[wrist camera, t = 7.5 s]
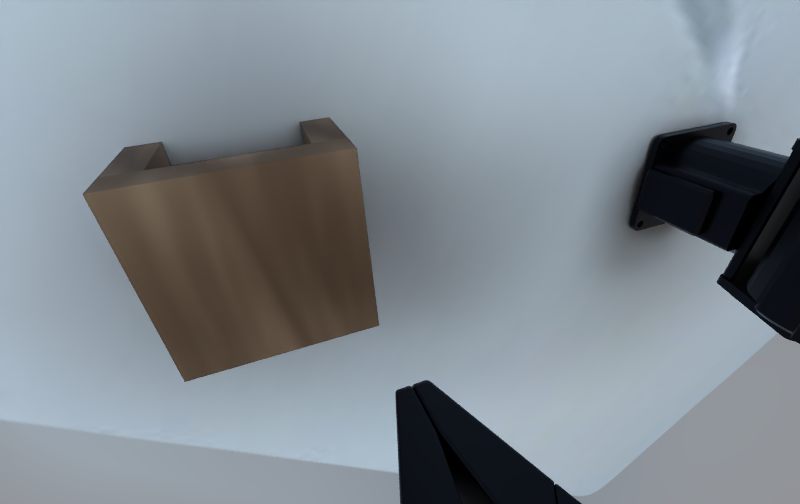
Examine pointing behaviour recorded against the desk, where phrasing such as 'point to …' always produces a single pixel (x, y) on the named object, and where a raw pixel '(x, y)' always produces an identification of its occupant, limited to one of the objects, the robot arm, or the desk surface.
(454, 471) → the robot arm
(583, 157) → the desk surface
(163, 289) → the footstool
